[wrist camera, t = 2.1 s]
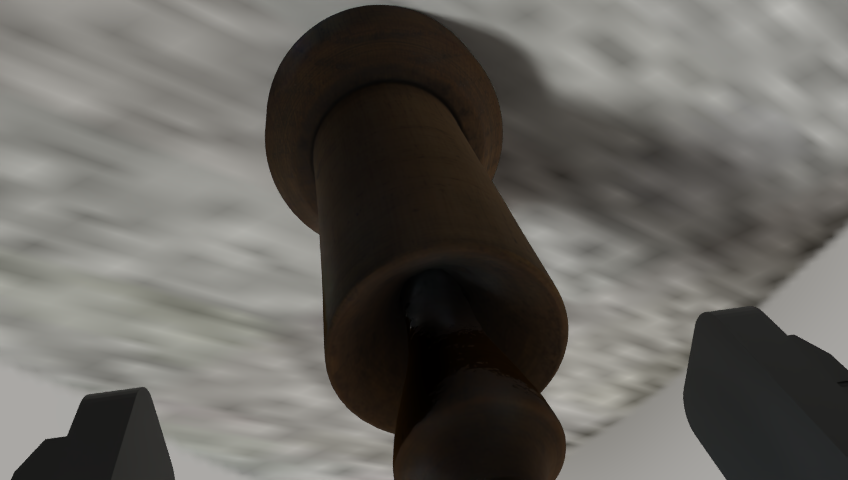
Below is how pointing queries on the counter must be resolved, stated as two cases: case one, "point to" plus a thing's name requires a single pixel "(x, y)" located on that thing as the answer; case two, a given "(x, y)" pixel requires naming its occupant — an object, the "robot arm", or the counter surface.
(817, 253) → the counter surface
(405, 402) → the brown wooden chess pawn
